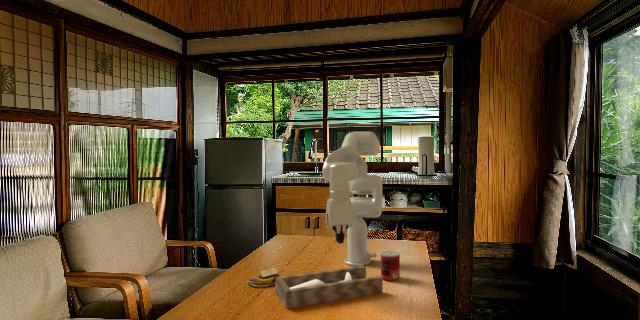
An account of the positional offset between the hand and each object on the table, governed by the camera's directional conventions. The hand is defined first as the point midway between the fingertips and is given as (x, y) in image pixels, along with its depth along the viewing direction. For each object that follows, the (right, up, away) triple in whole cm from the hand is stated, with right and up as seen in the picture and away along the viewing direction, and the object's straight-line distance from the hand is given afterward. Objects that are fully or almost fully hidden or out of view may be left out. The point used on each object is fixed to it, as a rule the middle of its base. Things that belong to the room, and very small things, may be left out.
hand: (340, 242), depth 153 cm
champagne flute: (+4, -15, -1) cm, 15 cm away
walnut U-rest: (-4, -19, -1) cm, 20 cm away
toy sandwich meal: (-31, -20, +12) cm, 39 cm away
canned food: (+22, -19, +14) cm, 32 cm away
